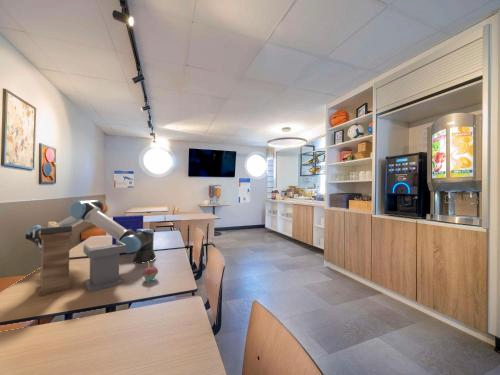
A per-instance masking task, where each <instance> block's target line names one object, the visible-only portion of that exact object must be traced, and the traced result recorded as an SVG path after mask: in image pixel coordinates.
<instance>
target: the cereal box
mask: <svg viewBox="0 0 500 375" xmlns="http://www.w3.org/2000/svg"><path fill="white" fill-rule="evenodd" d="M112 220H113V221H115V222H116V223H118V224H119V225H121V226H122V227H124V228H125V229H127V230H129V229H131V230H132V231H134V232H135V233H136V231H137V229H144V215H143V214H138V215H137V214H136V215H135V214H134V215H133V214H131V215H114V216H112ZM111 238H112V241H111V245H115V244H116V239H115V238H114V237H112V236H111ZM121 254H126V253H125V252H123V253H119V255H121Z"/></svg>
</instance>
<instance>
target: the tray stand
mask: <svg viewBox="0 0 500 375" xmlns="http://www.w3.org/2000/svg"><path fill="white" fill-rule="evenodd" d="M123 252H126V244H124V243H122V242H120V241H119V240H116V244H115V245H112V244H110V245H104V246H98V247H91V248H90V247H89V246H88V245H87V244H84V245H83V253H84V255H85V256H87V258H88V259H89V278H88V279H84V280H83V285H84V286H85V287H86V289H87V291H88V292H90V293H93V292H96V291H99V290H104V289H106V288H107V289H108V288H110V287H114V286H118V285H121V284H124V283H125V279H124V278H123V277H122V276H121V275H120V254H119V253H122V254H124V253H123Z"/></svg>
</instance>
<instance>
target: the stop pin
mask: <svg viewBox="0 0 500 375" xmlns="http://www.w3.org/2000/svg"><path fill="white" fill-rule="evenodd" d="M45 227H46V226H45ZM45 227H42V228H40V235H45V234H54V233H64V232H72V233H73V227H72V226H71V225H69V226H59V225H58V222H56V221H55V220H53V221H51V220H50V221H48V222H47V227H46V228H45Z"/></svg>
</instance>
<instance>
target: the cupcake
mask: <svg viewBox="0 0 500 375" xmlns="http://www.w3.org/2000/svg"><path fill="white" fill-rule="evenodd" d="M141 272H142V276H143V277H144V280H145V282H151V281H150V280H153V279H154V280H155V279H156V276H157V274H158V273H159V269H158V268H157V267H154V266H150V262H148V263H147V267H146V268H144V269H143V270H142V271H141ZM154 280H153V281H154Z"/></svg>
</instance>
